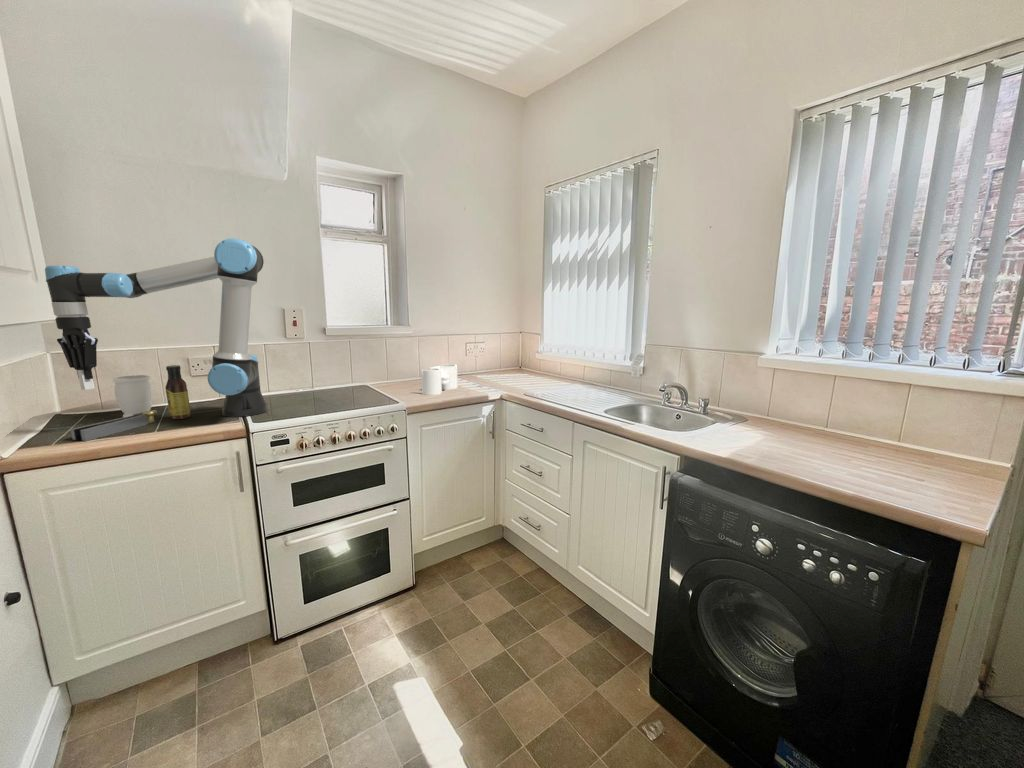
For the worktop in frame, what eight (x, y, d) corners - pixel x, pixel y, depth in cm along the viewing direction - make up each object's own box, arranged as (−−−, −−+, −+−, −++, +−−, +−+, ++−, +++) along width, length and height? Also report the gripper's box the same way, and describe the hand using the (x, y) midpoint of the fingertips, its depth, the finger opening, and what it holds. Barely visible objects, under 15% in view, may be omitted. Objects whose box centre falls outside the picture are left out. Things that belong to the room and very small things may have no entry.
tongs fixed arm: (151, 421, 151) (149, 411, 150) (157, 421, 150) (156, 412, 150) (78, 440, 129) (76, 429, 128) (85, 441, 128) (83, 430, 128)
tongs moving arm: (152, 420, 152) (150, 409, 151) (160, 421, 151) (159, 410, 150) (72, 439, 130) (69, 427, 129) (81, 440, 129) (79, 428, 128)
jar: (163, 413, 162) (157, 375, 159) (137, 420, 152) (130, 380, 149) (138, 412, 163) (132, 374, 160) (111, 419, 153) (104, 379, 150)
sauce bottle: (173, 416, 157) (166, 364, 154) (193, 415, 160) (186, 364, 156) (167, 420, 151) (159, 367, 148) (187, 419, 154) (180, 366, 150)
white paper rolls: (436, 396, 198) (436, 371, 196) (419, 394, 202) (418, 370, 199) (461, 386, 221) (460, 364, 219) (445, 385, 225) (444, 363, 222)
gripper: (102, 315, 134) (117, 387, 138) (69, 316, 136) (85, 386, 140) (74, 316, 126) (91, 391, 131) (40, 316, 128) (58, 391, 133)
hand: (88, 388), depth 136 cm, fingers closed
